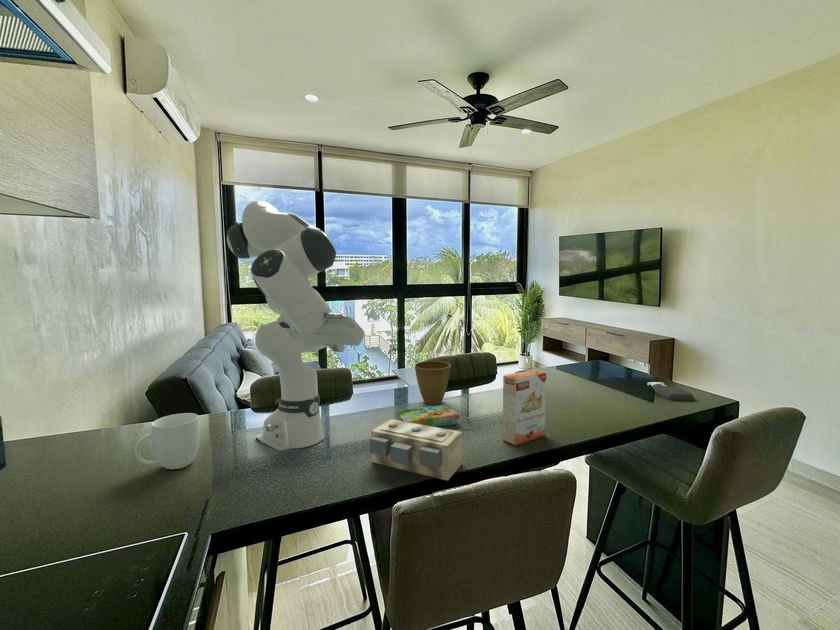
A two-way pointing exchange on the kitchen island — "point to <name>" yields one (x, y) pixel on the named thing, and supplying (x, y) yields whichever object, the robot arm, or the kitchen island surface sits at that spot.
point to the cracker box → (524, 406)
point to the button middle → (401, 453)
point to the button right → (430, 457)
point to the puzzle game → (430, 415)
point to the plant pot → (432, 380)
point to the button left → (380, 446)
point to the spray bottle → (671, 392)
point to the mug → (173, 440)
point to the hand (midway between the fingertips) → (339, 349)
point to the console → (418, 438)
